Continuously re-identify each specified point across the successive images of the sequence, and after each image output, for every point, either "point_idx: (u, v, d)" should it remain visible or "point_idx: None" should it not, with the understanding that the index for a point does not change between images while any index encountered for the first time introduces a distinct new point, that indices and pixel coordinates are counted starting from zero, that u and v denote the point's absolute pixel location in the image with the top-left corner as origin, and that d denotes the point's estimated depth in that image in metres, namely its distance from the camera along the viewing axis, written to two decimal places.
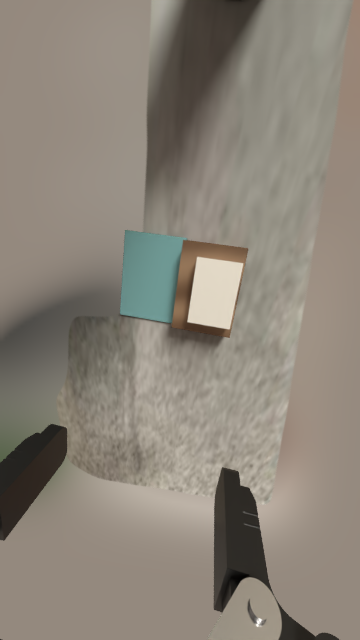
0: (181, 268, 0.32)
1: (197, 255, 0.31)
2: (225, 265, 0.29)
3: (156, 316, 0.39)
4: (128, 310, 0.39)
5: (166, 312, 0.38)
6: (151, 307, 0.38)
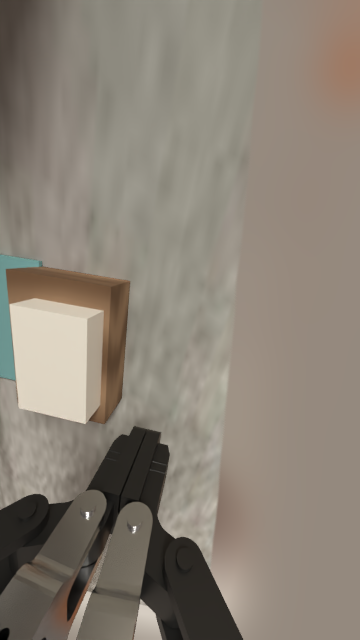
0: None
1: (33, 296, 0.18)
2: (58, 321, 0.16)
3: None
4: None
5: None
6: (8, 362, 0.25)
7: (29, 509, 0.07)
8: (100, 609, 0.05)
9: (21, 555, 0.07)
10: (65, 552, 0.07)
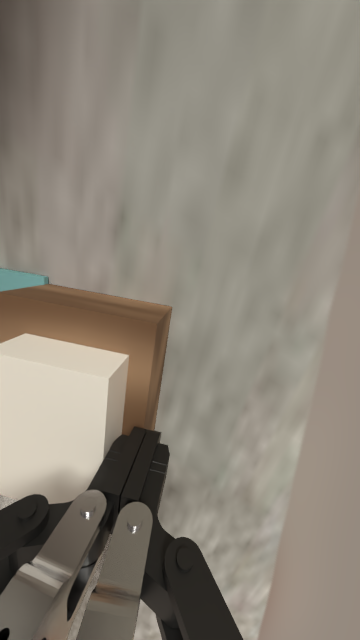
0: None
1: (36, 332, 0.12)
2: (61, 379, 0.10)
3: None
4: None
5: None
6: None
7: (29, 509, 0.07)
8: (100, 609, 0.05)
9: (21, 555, 0.07)
10: (65, 552, 0.07)
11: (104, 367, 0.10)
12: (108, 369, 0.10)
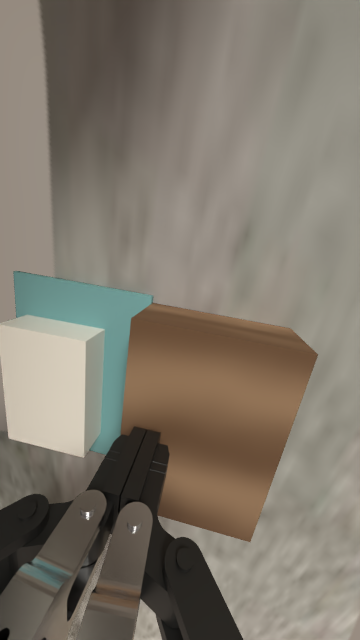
0: (130, 386, 0.12)
1: (171, 360, 0.12)
2: None
3: (94, 444, 0.19)
4: None
5: (114, 439, 0.18)
6: None
7: (29, 509, 0.07)
8: (100, 609, 0.05)
9: (21, 555, 0.07)
10: (65, 552, 0.07)
11: (26, 318, 0.16)
12: (23, 317, 0.16)
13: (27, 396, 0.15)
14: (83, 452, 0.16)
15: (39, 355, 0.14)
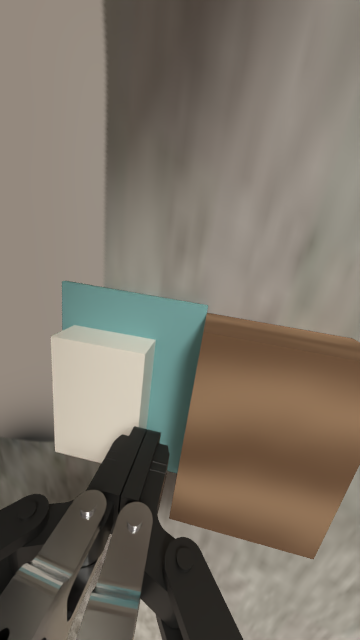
0: (196, 401, 0.12)
1: (244, 375, 0.11)
2: None
3: None
4: None
5: None
6: None
7: (29, 509, 0.07)
8: (100, 609, 0.05)
9: (21, 555, 0.07)
10: (65, 552, 0.07)
11: (75, 329, 0.15)
12: (72, 328, 0.15)
13: (78, 409, 0.15)
14: None
15: (94, 368, 0.14)
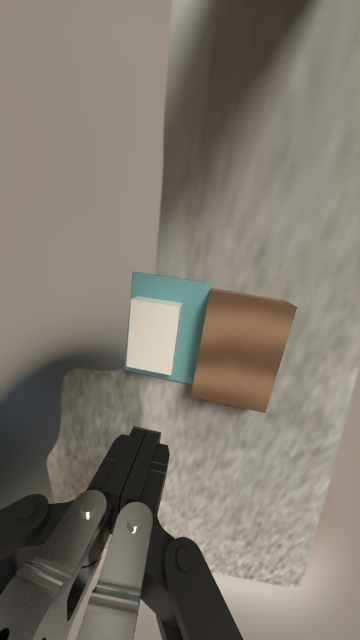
0: (206, 327, 0.25)
1: (228, 313, 0.24)
2: None
3: None
4: None
5: (182, 370, 0.31)
6: None
7: (29, 509, 0.07)
8: (100, 609, 0.05)
9: (21, 555, 0.07)
10: (65, 552, 0.07)
11: (139, 297, 0.28)
12: (138, 297, 0.28)
13: (142, 339, 0.28)
14: (171, 372, 0.28)
15: (152, 315, 0.27)
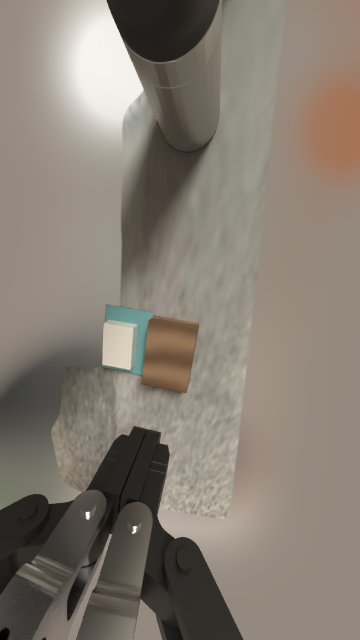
0: (147, 341, 0.41)
1: (159, 332, 0.41)
2: None
3: (131, 370, 0.48)
4: None
5: (139, 367, 0.47)
6: None
7: (29, 509, 0.07)
8: (100, 609, 0.05)
9: (21, 555, 0.07)
10: (65, 552, 0.07)
11: (110, 321, 0.45)
12: (109, 320, 0.45)
13: (111, 347, 0.44)
14: (130, 368, 0.45)
15: (117, 333, 0.43)
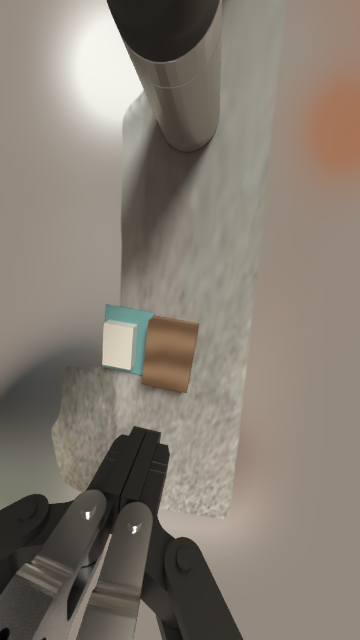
0: (147, 341, 0.41)
1: (159, 332, 0.41)
2: None
3: (131, 369, 0.48)
4: None
5: (139, 367, 0.47)
6: None
7: (29, 509, 0.07)
8: (100, 609, 0.05)
9: (21, 555, 0.07)
10: (65, 552, 0.07)
11: (110, 321, 0.45)
12: (109, 320, 0.45)
13: (111, 347, 0.44)
14: (130, 368, 0.45)
15: (117, 333, 0.43)
